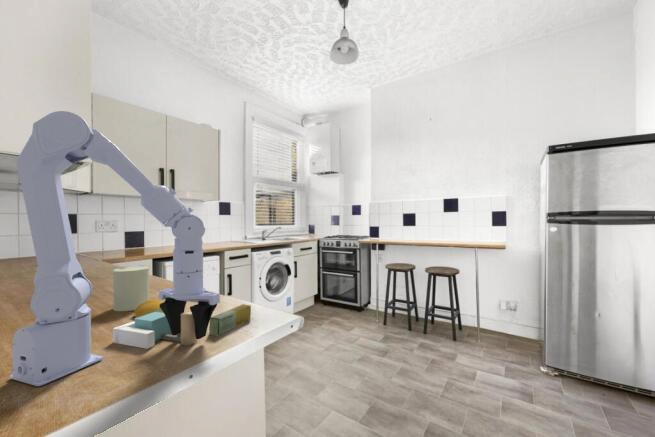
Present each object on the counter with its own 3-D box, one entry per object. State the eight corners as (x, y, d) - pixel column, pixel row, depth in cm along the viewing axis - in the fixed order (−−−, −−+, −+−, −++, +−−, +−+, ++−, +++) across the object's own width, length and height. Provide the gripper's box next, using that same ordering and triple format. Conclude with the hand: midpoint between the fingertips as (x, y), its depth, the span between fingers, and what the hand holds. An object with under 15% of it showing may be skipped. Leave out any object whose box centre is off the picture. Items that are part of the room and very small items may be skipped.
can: (130, 302, 92) (130, 264, 92) (156, 302, 91) (156, 264, 91) (104, 311, 83) (104, 269, 83) (133, 312, 82) (133, 269, 82)
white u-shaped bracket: (147, 348, 57) (147, 333, 58) (113, 342, 61) (112, 328, 61) (187, 330, 67) (187, 317, 67) (155, 325, 70) (155, 313, 70)
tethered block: (184, 348, 58) (184, 318, 58) (134, 339, 62) (134, 311, 62) (203, 338, 62) (203, 310, 62) (155, 331, 67) (155, 305, 67)
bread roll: (137, 323, 73) (137, 307, 73) (132, 315, 80) (132, 300, 80) (173, 316, 78) (173, 301, 78) (166, 308, 85) (165, 295, 85)
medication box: (217, 337, 64) (217, 319, 64) (208, 335, 65) (208, 317, 65) (251, 319, 75) (251, 304, 75) (242, 318, 76) (242, 303, 76)
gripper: (229, 269, 62) (229, 332, 62) (177, 266, 67) (177, 325, 67) (205, 275, 55) (205, 346, 55) (149, 271, 60) (150, 336, 60)
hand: (188, 335), depth 61 cm, fingers open, 6 cm apart
